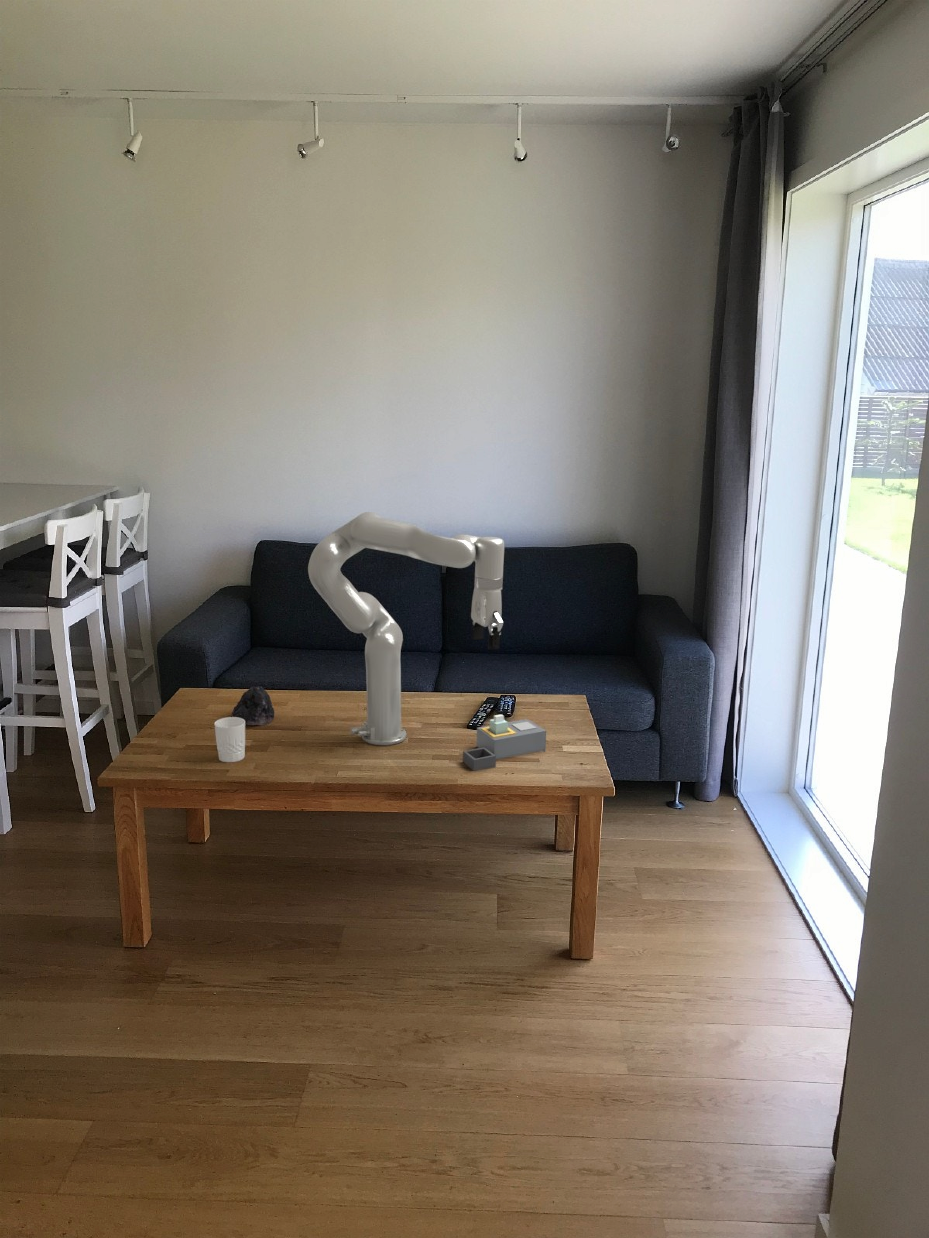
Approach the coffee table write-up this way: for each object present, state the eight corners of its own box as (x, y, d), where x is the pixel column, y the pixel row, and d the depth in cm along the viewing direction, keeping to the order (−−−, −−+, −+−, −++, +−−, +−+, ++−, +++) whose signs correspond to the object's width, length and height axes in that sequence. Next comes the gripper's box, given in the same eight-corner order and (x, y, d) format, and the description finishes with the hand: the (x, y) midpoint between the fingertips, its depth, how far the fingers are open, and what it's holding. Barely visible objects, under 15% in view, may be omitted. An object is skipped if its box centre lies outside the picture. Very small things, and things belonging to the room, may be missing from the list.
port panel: (494, 761, 246) (494, 739, 244) (476, 748, 254) (476, 726, 253) (545, 751, 253) (546, 729, 251) (526, 738, 261) (527, 717, 260)
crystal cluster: (248, 733, 265) (250, 700, 262) (219, 718, 273) (222, 686, 270) (284, 724, 275) (287, 692, 272) (256, 709, 283) (258, 679, 281)
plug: (495, 751, 249) (496, 718, 247) (489, 747, 252) (489, 714, 250) (507, 749, 251) (507, 716, 248) (500, 745, 254) (501, 712, 251)
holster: (473, 772, 238) (474, 760, 237) (462, 763, 244) (462, 751, 243) (495, 768, 241) (496, 755, 240) (484, 759, 247) (484, 747, 246)
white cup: (231, 765, 240) (229, 729, 238) (210, 759, 245) (207, 723, 242) (253, 755, 247) (251, 720, 244) (231, 749, 251) (230, 714, 248)
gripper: (462, 577, 255) (460, 636, 260) (489, 590, 240) (486, 653, 245) (487, 575, 258) (484, 634, 263) (515, 589, 243) (512, 651, 248)
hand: (485, 643), depth 254 cm, fingers open, 9 cm apart
